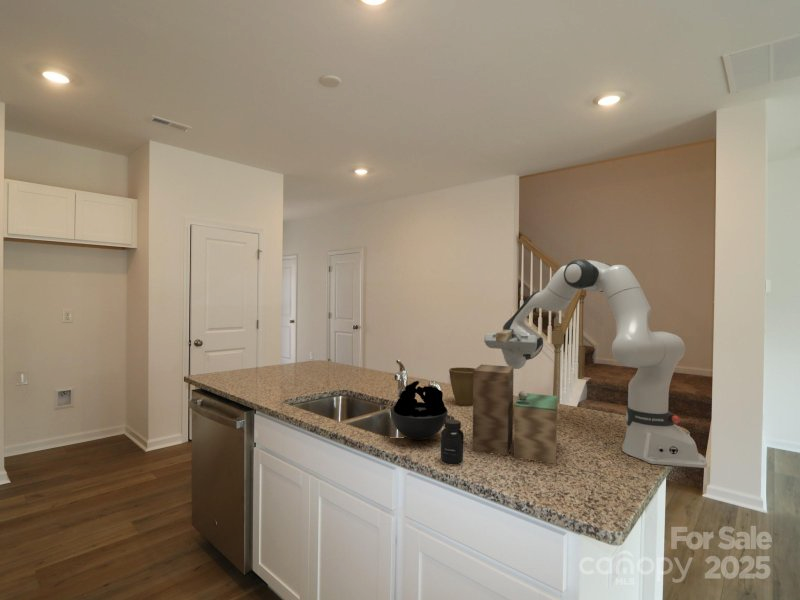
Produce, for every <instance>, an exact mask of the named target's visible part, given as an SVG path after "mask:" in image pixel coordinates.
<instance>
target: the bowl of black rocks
mask: <svg viewBox="0 0 800 600" xmlns="http://www.w3.org/2000/svg"><path fill="white" fill-rule="evenodd" d="M419 384H420V381H419V380H415V381H412V382H411V383H409V384H407V385H406V386H405V387H404V390H403V391H402V392H401V393H400V395H399V397H398V399H397V400H396V403H395V404H394V405H393V406H391V408H390V410H389V411H390V417H391V420H392V423H393V425H394V427H395V428H396V429H397V431H398V432H399V433H401V434H402V435H403V436H405V437H406V438H409V439H411V440H412V439H413V440H419V441H420V440H421V441H422V440H426V439H430V438H432V437H434V436H436V434H438V433H439V432H440V431H441V430H443V427H444V425H445V420H447V419H448V418H447V417H448V408H447V407H446V406H445V403H444V400H443V396H444V394H443V391H442V390H440V389H438V387H436V386H434V387H433V386H432V385H431V386H430V385H429V386H428V385H424V386H423V387H421V386H418V385H419ZM417 395H419V397H420V399H421V400H422V401H418V399H417V398H416V397H417Z"/></svg>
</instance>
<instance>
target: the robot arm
mask: <svg viewBox="0 0 800 600" xmlns="http://www.w3.org/2000/svg"><path fill="white" fill-rule="evenodd" d="M579 290H582V291H587V292H600V293H603V294H604V296H605V298H606V300H607V302H608V305H609V308H610V310H611V313H612V314H613V315H612V316H613V318H614V321H615V326H616V328H615V329H616V335H615V339H614V340H613V341H612V345H611V353H612V356H613V358H614V360H615V361H616V362H617V363H619V364H620V365H621V366H622V365H623V366H626V367H627V366H628V367H632V368H637V371H636V373H635V375H634V376H633V377H632V378H631V379H630V381H629V382H628V388H627V389H628V390H627V392H628V393H627V394H628V395H627V398H628V399H627V402H628V403H627V404H628V405H627V406H626V411H625V423H626V431H625V436H624V440H623V444H622V447H621V451H623V452H624V453H625V454H627V455H629V456H631V457H633V458H637V459H639V460H642V461H644V462H646V463H648V464H653V465H666V466H676V467H687V468H700V469H701V468H702V469H704V468H706V467H707V466H708V461H707V459H706V457H705V456H704V455H703V454H701V453H699V451H698V448H697V443H696V442H695V440H694V439H693V438H692V436H691V435H689V434H688V433H687V432H685V430H683V429H682V428H681V427H680V426H678V425H677V424H679V423H681V419H680V417H679V416H677V415H675V414H674V413H672V412H671V411H669V397H670V395H669V394H670V393H669V392H670V386H671V381H672V378H673V375H674V371H675V369H676V367H677V365H678V363H679V362H680V361H681V360H682V359H683V357H684V356H685V354H686V345H685V343H684V340H683V339H682V338H681V336H678V335H677V334H674V333H671V332H667V331H651V329H650V326H649V317H650V316H651V313H652V308H651V307H652V306H650V303H649V301H648V299H647V297H646V295H645V293H644V290H643V289H642V287H641V285H640V283H639V281H638V279H637V278H636V277H635V275H634V273H633V272H632V271H631V270H630V268H629V267H628V266H626V265H624V264H614V265H611V264H609V263H603V262H600V261H597V260H591V259H589V260H588V259H587V260H586V259H574V260H572V261H570V262H569V263H567V264H565V265H563V266H560V268H558V270H557V271H556V272H555V273H553V276H552V277H551V278H550V280H549V281H548V284H546V286H545V287H544V288H543V289H542V290H536V291H535V292H533V293H531V295H529V296H528V298H527V299H526V300H525V301H524V302H523V304H522V305H521V306H520V307H519V308H518V309H517V310H516V312H514V314H513V315H512V316H511V317H510V318H509V319H508V320H507V321H506V322H505V323H504V325H503V327H502V330H504V329H514V331H513V337H514V338H512V339H511V340H509V341H508V342H506V343H496V333H493V332H492V333H487V332H486V333H484V339H483V340H484V341H483V342H484V344H485V346H486V347H487V348H489V349H496V350H497V349H498V350H499V349H501V352H502V353H501V354H502V355H503V359H504V361H505V363H506V366H510V367H514V370H519V369H522V368H523V367H524V366H525V365H526V363H527V361H528V360H532V359H534V358H535V357H536V356H538V355H539V354H540V353H541V351H542V350H543V347H544V339H543V337H542V336H541V335H539V333H537V331H535V330H533V329H532V328H531V327H529V326H528V325H527V324H526V323H525V320H526V319H527V317H529V315H530V314H531V313H532V312H533V310H535V308H537V309H542V310H545V311H547V312H549V311H550V312H559V311H560V312H561V311H563V310H565V309H566V308H568V306H569V305H570V304H571V302H572V301H573V299H574V298H575V296H576V294H577V293H578V292H579Z"/></svg>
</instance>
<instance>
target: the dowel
mask: <svg viewBox="0 0 800 600" xmlns="http://www.w3.org/2000/svg"><path fill="white" fill-rule="evenodd" d="M513 331H514V329H504V330H503V329H502V330H500V331H498V332H496V333H495V334H496V343H506V342H508V341H509V340H511V339H512V338H514V337H513Z"/></svg>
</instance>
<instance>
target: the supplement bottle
mask: <svg viewBox="0 0 800 600" xmlns="http://www.w3.org/2000/svg"><path fill="white" fill-rule="evenodd" d="M443 427H444V428H442V429H441V430H442V431H441V433H440V460H441V462H442V463H443V462H444V463H443V464H445V463H446V465H449V464H458V465H460V464H459V463H461V462H462V463H463V461H464V446H465V445H464V441H465V440H464V439H465V436H464V434H465V433H464V432H463V431H462V429H461V428H462V427H461V420H458V419H450V418H449V419H446V420H445V424H444V426H443ZM462 463H461V464H462Z"/></svg>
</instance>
